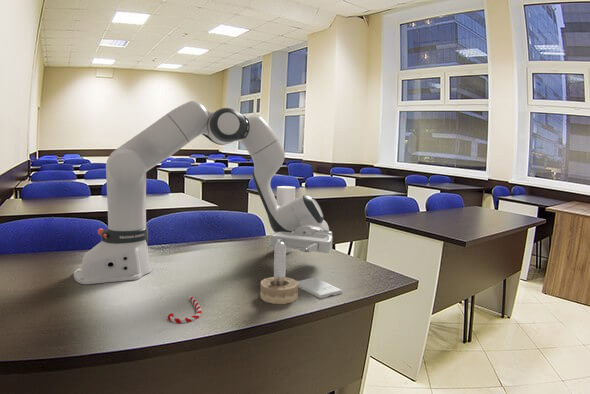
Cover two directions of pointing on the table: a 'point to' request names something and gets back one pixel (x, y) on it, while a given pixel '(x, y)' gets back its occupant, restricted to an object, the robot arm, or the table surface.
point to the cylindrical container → (285, 200)
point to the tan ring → (279, 291)
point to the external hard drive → (318, 287)
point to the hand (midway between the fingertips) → (292, 247)
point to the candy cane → (189, 319)
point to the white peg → (279, 264)
